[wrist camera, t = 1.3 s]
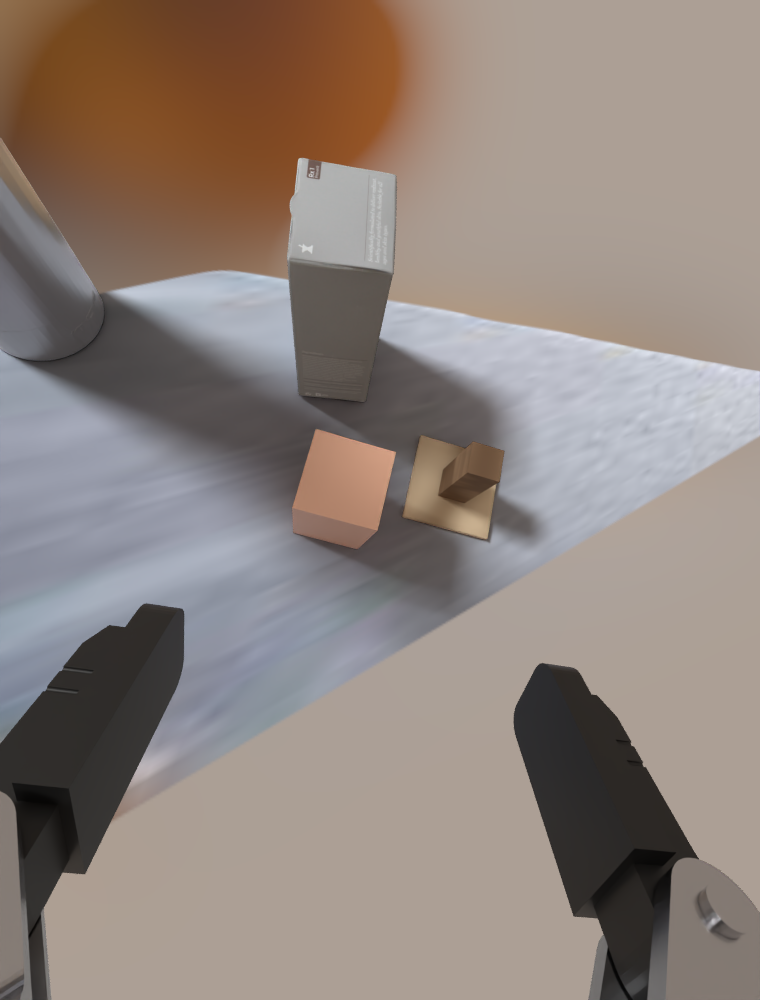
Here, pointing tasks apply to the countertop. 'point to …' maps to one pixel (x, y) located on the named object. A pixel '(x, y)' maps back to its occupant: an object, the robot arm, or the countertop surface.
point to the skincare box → (339, 274)
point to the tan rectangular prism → (342, 490)
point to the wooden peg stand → (454, 486)
